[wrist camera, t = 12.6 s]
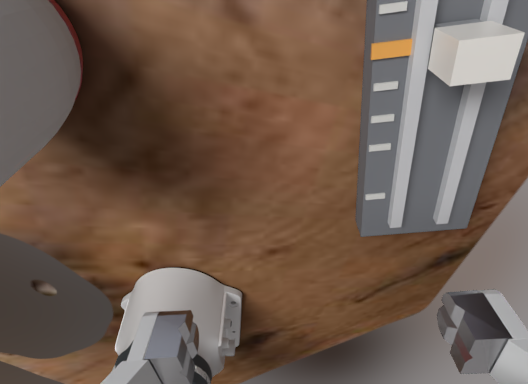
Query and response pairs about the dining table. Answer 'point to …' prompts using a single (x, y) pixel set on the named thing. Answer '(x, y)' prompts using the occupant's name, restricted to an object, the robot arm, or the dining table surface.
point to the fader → (474, 51)
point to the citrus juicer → (34, 78)
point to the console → (424, 118)
